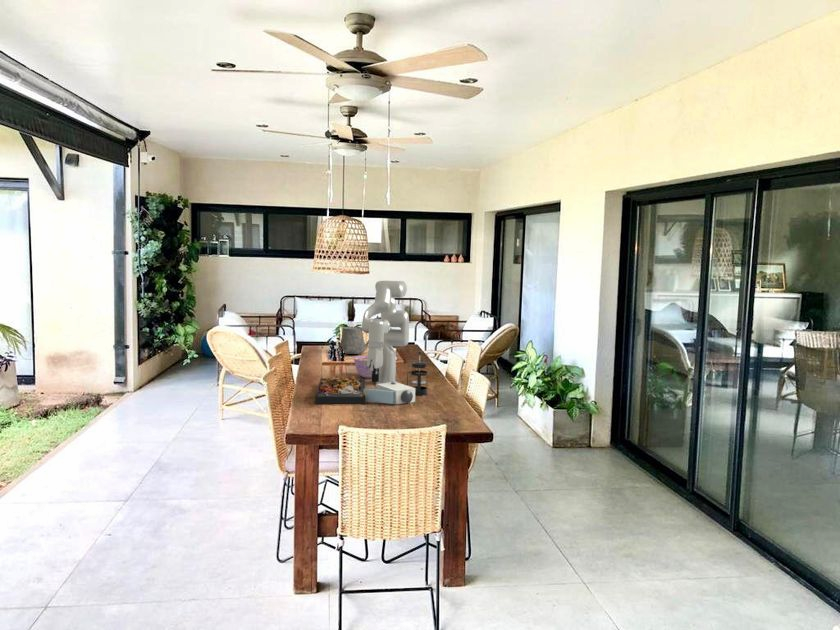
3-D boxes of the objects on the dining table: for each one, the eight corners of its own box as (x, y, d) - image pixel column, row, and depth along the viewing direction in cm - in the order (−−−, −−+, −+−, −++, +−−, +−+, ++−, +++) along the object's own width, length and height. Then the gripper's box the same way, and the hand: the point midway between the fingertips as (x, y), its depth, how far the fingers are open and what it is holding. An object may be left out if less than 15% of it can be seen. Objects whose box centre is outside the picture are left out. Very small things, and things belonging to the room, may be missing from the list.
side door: (362, 401, 316) (362, 389, 315) (364, 400, 317) (364, 388, 317) (395, 404, 310) (395, 392, 310) (396, 403, 312) (396, 391, 311)
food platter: (365, 405, 312) (365, 385, 311) (314, 405, 309) (315, 384, 308) (364, 386, 356) (364, 368, 355) (320, 386, 354) (320, 368, 353)
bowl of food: (389, 374, 389) (389, 356, 388) (384, 381, 369) (384, 361, 368) (357, 373, 391) (357, 354, 390) (350, 379, 371) (350, 360, 370)
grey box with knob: (375, 397, 327) (376, 382, 327) (395, 394, 335) (395, 380, 334) (397, 405, 311) (398, 389, 311) (417, 402, 319) (417, 387, 318)
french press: (428, 392, 343) (430, 350, 341) (428, 396, 334) (430, 353, 331) (407, 391, 343) (408, 349, 341) (406, 395, 334) (407, 352, 332)
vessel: (331, 355, 456) (332, 328, 454) (344, 351, 477) (345, 325, 475) (359, 357, 450) (359, 329, 448) (371, 353, 470) (371, 326, 469)
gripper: (374, 343, 324) (373, 378, 325) (363, 346, 309) (362, 383, 311) (388, 344, 321) (387, 379, 323) (377, 347, 307) (376, 384, 308)
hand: (375, 381), depth 317 cm, fingers closed
